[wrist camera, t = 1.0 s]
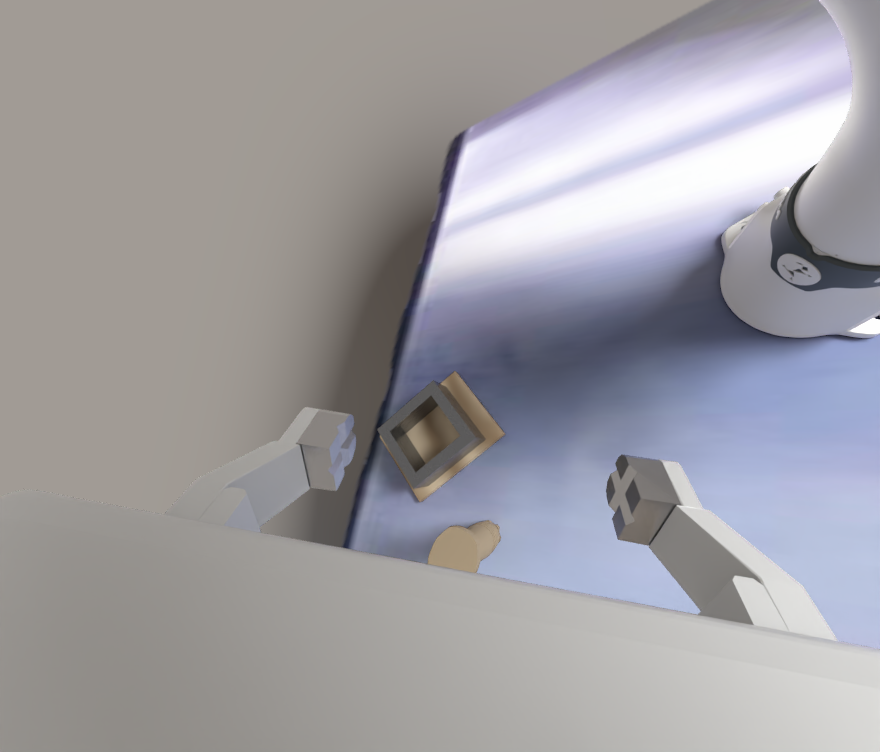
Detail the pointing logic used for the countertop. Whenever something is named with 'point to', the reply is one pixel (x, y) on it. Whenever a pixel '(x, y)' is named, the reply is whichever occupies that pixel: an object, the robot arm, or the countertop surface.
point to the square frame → (413, 414)
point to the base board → (450, 433)
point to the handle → (464, 546)
